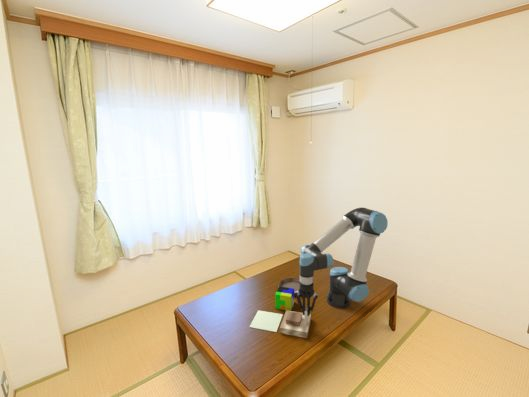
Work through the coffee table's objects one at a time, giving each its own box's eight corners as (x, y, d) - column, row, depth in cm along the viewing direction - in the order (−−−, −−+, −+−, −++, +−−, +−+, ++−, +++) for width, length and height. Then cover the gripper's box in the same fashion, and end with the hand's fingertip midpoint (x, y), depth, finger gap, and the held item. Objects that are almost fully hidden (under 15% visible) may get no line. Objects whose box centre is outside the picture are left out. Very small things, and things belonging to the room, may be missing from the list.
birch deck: (310, 319, 158) (310, 314, 157) (307, 338, 143) (307, 332, 142) (286, 315, 162) (286, 310, 161) (279, 333, 147) (279, 327, 146)
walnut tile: (302, 317, 155) (302, 313, 154) (299, 326, 147) (299, 322, 147) (288, 315, 157) (288, 311, 156) (285, 323, 149) (285, 319, 149)
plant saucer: (303, 299, 178) (303, 295, 178) (274, 294, 186) (274, 289, 185) (310, 284, 197) (310, 280, 197) (283, 280, 205) (283, 276, 204)
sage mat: (283, 314, 163) (282, 314, 163) (276, 332, 148) (276, 331, 148) (258, 310, 167) (258, 310, 167) (249, 327, 152) (249, 326, 152)
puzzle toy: (294, 302, 175) (294, 288, 173) (290, 311, 166) (290, 296, 164) (279, 299, 179) (279, 286, 177) (275, 308, 169) (275, 294, 167)
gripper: (319, 279, 147) (318, 317, 151) (295, 277, 150) (295, 314, 155) (317, 286, 139) (317, 326, 144) (293, 283, 143) (293, 322, 148)
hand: (306, 320), depth 150 cm, fingers closed
